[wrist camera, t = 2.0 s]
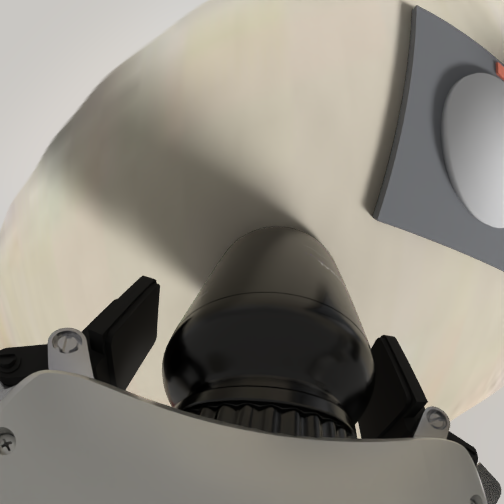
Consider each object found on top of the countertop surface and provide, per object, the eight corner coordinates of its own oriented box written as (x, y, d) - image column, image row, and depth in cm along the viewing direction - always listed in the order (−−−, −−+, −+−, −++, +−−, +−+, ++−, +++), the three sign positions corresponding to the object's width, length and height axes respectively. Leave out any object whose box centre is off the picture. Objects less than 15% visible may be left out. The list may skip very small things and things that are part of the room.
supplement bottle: (356, 248, 14) (471, 440, 3) (307, 343, 17) (314, 528, 5) (237, 203, 14) (94, 365, 3) (204, 308, 16) (119, 486, 5)
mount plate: (543, 113, 8) (555, 113, 7) (511, 274, 13) (523, 282, 12) (411, 10, 9) (421, -1, 7) (372, 217, 13) (382, 224, 12)
